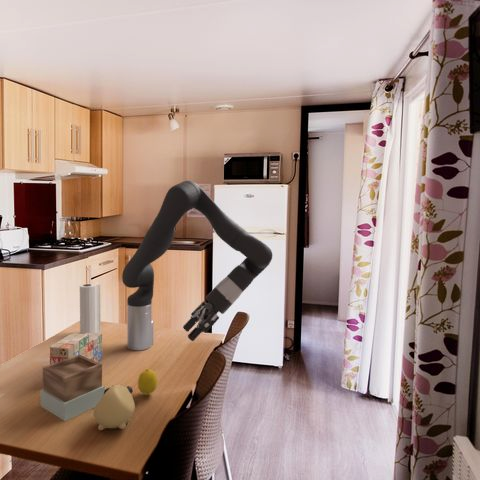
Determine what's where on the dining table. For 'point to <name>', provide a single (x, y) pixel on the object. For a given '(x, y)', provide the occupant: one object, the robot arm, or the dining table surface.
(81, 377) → the wooden box
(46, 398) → the tower base
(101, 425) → the cream pug plush toy
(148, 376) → the lemon
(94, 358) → the stack of blocks
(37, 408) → the dining table surface
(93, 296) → the paper towel roll
